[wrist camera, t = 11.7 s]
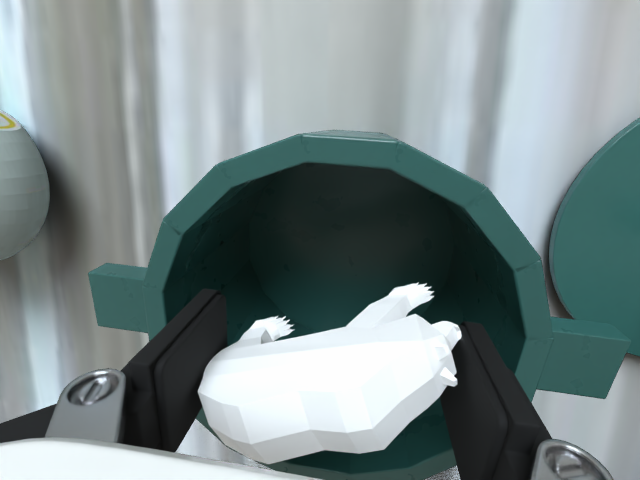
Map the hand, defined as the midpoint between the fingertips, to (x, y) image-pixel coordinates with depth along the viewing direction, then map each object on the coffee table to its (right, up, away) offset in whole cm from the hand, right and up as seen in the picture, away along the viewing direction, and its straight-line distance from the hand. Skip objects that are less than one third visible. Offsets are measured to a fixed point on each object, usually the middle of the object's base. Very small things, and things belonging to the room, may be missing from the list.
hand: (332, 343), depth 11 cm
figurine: (0, 0, +1) cm, 1 cm away
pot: (+1, +3, +9) cm, 9 cm away
